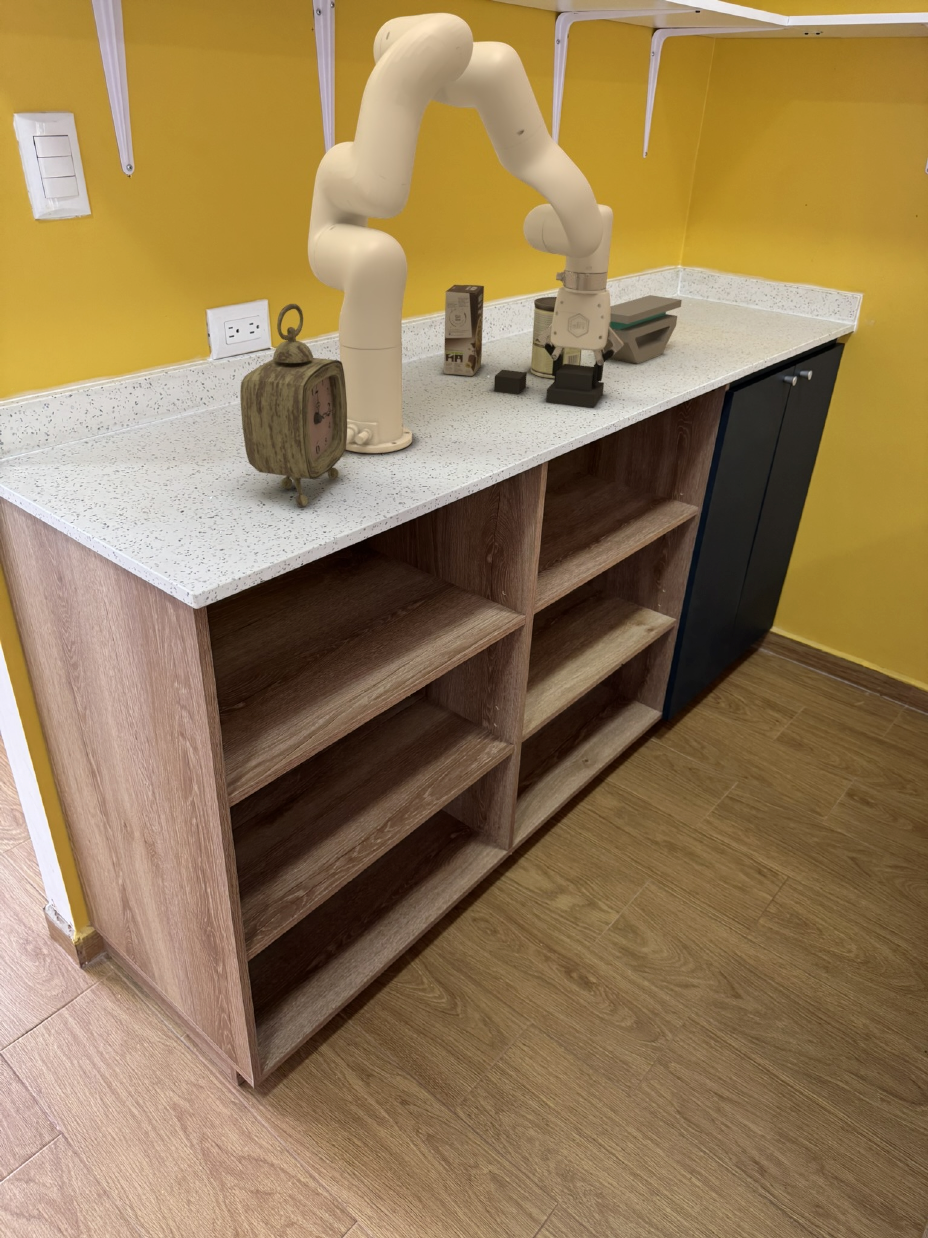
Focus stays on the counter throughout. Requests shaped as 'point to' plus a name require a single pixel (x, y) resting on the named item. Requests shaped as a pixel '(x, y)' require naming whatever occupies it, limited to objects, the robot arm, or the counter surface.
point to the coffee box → (463, 329)
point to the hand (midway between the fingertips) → (576, 381)
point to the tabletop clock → (295, 412)
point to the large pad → (574, 396)
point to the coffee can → (540, 356)
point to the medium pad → (575, 377)
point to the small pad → (510, 381)
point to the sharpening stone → (642, 327)
